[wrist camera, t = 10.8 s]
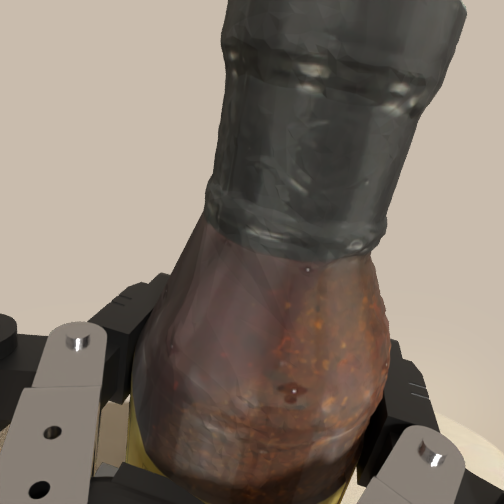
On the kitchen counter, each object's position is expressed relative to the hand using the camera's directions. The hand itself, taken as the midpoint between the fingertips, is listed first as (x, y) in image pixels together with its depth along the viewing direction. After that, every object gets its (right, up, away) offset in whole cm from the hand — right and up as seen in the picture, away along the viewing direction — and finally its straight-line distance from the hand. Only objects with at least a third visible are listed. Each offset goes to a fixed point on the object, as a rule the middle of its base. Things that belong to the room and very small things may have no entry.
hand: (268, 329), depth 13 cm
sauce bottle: (-3, -11, +2) cm, 11 cm away
